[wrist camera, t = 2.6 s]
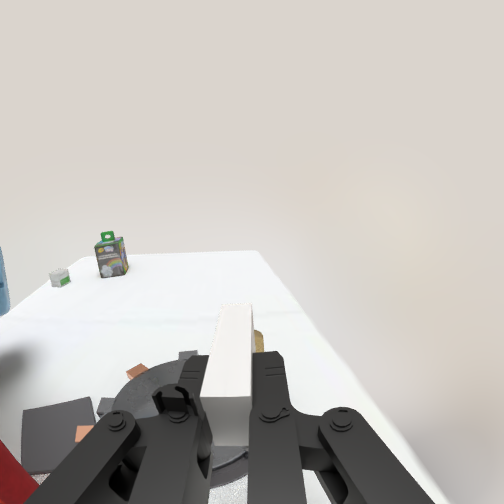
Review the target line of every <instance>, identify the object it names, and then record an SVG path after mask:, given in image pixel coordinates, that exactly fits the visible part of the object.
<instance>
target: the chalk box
mask: <svg viewBox="0 0 504 504" xmlns="http://www.w3.org/2000/svg"><path fill="white" fill-rule="evenodd" d="M105 235H110V236H111V237H110V238H109V239H106V238H105ZM101 237H102V241H100V242H99V243H97V244H96V245H95V247H94V248H95V252H96V257H97V262H98V266H99V271H100V275H101V278H104V277H112V276H120V275H125V273H126V271H127V269H128V262H127V257H126V252H125V247H124V243H123V237H118V238H115V237H114V233H113V231H108V232H102V233H101Z"/></svg>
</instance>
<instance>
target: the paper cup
mask: <svg viewBox="0 0 504 504" xmlns="http://www.w3.org/2000/svg"><path fill="white" fill-rule="evenodd" d="M39 486H40V485H39V484H38V483H37V482H36V481H35V480H34V479H33V478H32V477H31V476H30V475H29V473H28V472H27V471H26V470H25V469H24V468H23V467H22V466H21V465H20V463H19V462H18V461H17V460H16V459H15V458H14V456H13V455H12V454H11V453H10V451H9V450H8V449H7V448H6V446H5V445H4V444H3V443H2V441H1V440H0V504H23V503H24V502H25V501H26V500H27V499H28V498H29V497H30V496H31V494H32V493H33V492H34V491H35V490H36V489H37V488H38V487H39Z"/></svg>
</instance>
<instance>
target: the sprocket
mask: <svg viewBox="0 0 504 504" xmlns="http://www.w3.org/2000/svg"><path fill="white" fill-rule="evenodd" d="M254 336H255V347H256V353H258V352H264V343H263V335H262V333H261V332H259V331H257V330H254ZM192 355H198V351H197V350H195V351H185V352H179V359H178V360H176V361H171V362H167V363H164V364H160V365H158V366H155V367H152V368H150V369H148V368H147V367H145V366H144V365H142V364H139V365H137V366H135V367H134V368H132V369H130V370H128V371H126V373H127V375H128V378H129V379H130V381H129V382H128V383H127V384H126V385H125V386H124V387H123V388H122V389H121V391H120V392H119V393H118V395H117V397H116V398H101V401H100V403H99V406H98V409H97V414H98V416H99V417H100V418H102V417H103V416H104V415H105V414H107V413H109V412H111V411H114V410H124V411H128V412H129V413H131V414H132V415H133V416H134V418H135V419H140V418H148V417H153V416H157V415H158V414H159V413H158V410H157V408H156V406H155V403H154V401H153V399H152V394H153V393H154V391H155V390H157V389H158V388H160V387H161V386H164V385H167V384H175V383H178V380H179V379H180V378H179V377H180V375H181V372H182V369H183V366H184V363H185V362H186V361H187V360H188V359H189V358H190V357H191V356H192ZM248 447H249V446H215V445H214V442H213V439H212V446H211V450H212V452H213V465H212V471H216V470H219V469H222V468H224V467H227V466H229V465H231V464H233V463H235V462H237V461H238V460H240V459H241V458H243V457H244V456H245V455H246V456H248Z"/></svg>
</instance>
